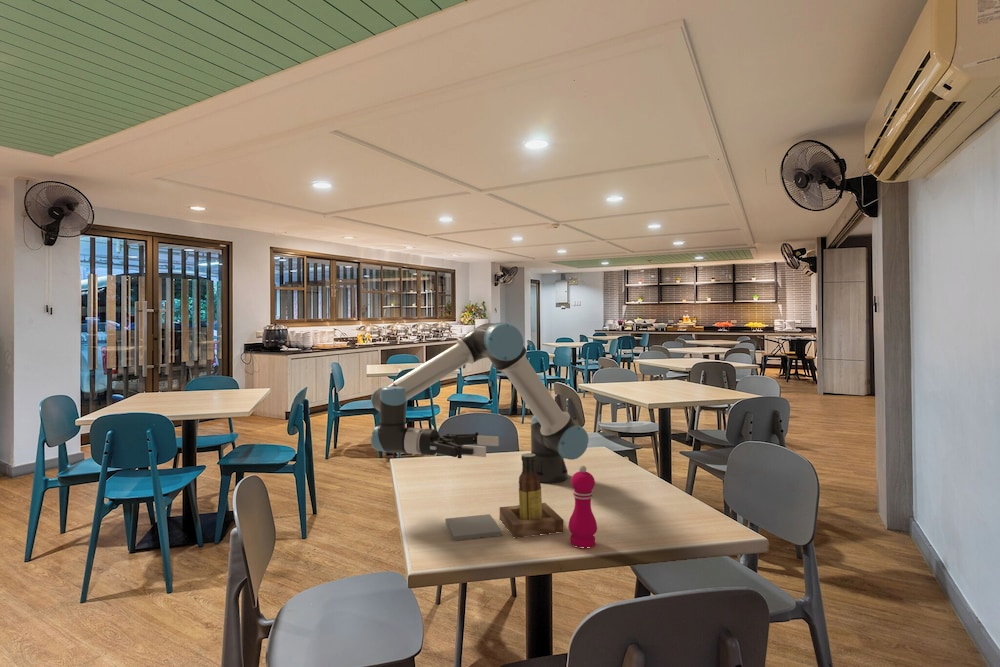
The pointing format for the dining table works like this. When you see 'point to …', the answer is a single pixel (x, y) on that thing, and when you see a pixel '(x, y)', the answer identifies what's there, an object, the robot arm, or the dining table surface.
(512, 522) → the bottle holder
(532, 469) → the sauce bottle
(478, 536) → the slate tile
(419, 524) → the dining table surface
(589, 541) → the pepper mill
